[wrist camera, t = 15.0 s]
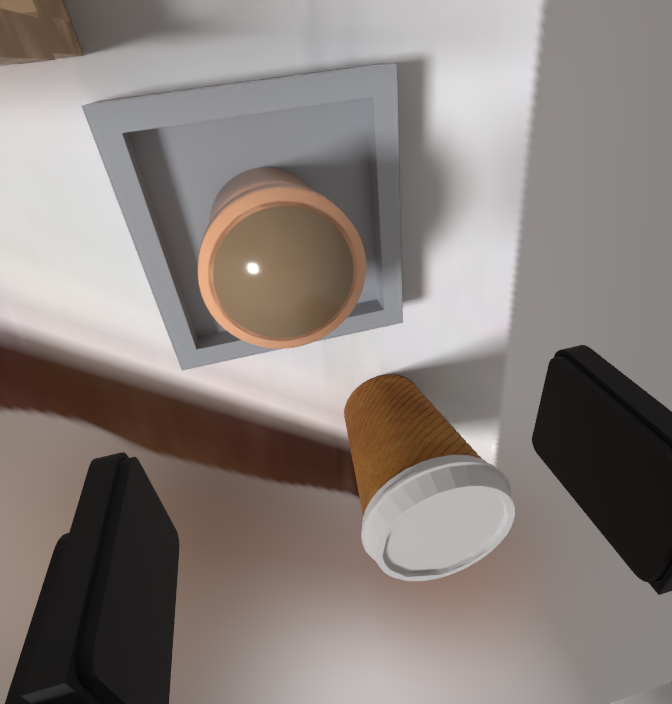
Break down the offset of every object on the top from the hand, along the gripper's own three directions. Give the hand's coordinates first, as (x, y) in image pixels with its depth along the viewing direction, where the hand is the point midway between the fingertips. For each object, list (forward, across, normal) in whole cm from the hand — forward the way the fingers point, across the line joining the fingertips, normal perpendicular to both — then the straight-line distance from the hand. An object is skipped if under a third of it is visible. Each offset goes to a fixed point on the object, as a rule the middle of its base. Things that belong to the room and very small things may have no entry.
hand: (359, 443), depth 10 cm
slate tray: (+19, 0, +1) cm, 19 cm away
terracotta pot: (+18, 0, +1) cm, 18 cm away
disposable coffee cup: (+19, -6, +17) cm, 26 cm away
